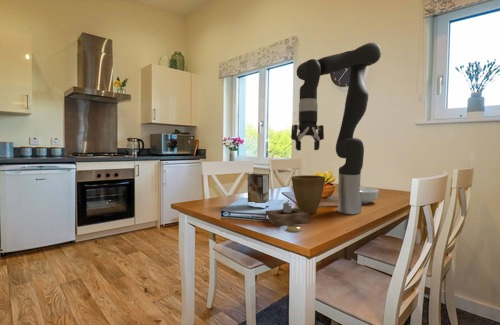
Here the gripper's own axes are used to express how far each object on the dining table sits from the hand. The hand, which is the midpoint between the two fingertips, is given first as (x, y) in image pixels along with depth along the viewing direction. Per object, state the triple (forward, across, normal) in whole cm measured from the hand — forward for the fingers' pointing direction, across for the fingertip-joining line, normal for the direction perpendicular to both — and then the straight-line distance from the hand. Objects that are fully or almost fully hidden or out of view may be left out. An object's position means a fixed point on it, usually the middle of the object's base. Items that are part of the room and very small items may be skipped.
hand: (307, 150), depth 114 cm
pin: (+28, +11, +3) cm, 30 cm away
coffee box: (+28, +12, -24) cm, 39 cm away
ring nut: (+28, +14, +14) cm, 35 cm away
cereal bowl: (+28, -43, -15) cm, 54 cm away
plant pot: (+28, -5, -7) cm, 29 cm away
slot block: (+28, +11, +3) cm, 30 cm away
